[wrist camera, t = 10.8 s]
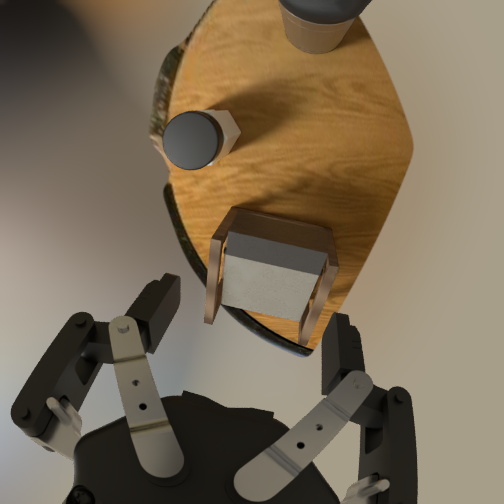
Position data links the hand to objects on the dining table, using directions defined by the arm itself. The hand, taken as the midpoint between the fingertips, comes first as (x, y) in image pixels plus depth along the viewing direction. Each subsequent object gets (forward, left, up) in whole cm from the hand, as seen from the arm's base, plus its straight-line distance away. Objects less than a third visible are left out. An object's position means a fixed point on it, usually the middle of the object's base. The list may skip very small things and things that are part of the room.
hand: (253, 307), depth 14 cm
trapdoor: (+15, +1, -27) cm, 31 cm away
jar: (-3, -13, -36) cm, 39 cm away
